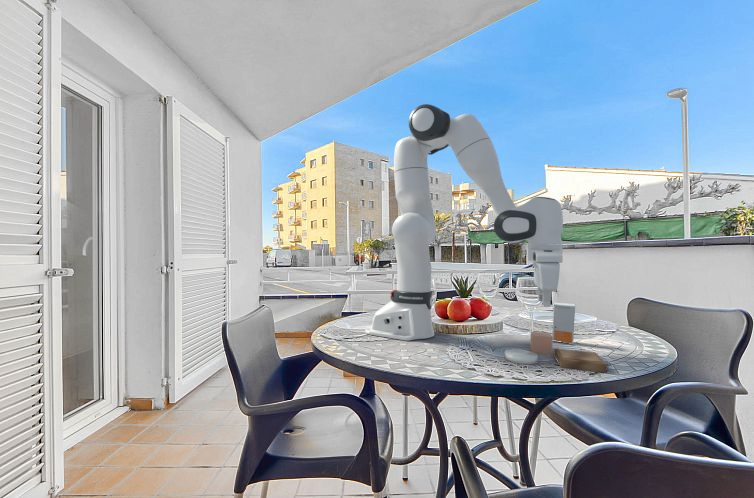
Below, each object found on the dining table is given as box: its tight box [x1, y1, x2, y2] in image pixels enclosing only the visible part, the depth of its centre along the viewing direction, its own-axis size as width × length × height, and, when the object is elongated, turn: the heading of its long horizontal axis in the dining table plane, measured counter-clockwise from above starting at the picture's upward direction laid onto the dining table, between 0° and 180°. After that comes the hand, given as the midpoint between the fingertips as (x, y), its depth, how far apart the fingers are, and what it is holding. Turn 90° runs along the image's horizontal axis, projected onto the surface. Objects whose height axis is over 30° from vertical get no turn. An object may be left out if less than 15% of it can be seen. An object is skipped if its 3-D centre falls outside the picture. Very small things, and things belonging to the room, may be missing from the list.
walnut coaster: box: [553, 348, 608, 373], centre depth 95 cm, size 10×10×2 cm
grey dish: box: [504, 348, 538, 365], centre depth 97 cm, size 8×8×2 cm
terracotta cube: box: [529, 331, 553, 356], centre depth 105 cm, size 5×5×5 cm
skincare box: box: [551, 302, 576, 346], centre depth 116 cm, size 6×4×12 cm
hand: (544, 303), depth 105 cm, fingers open, 8 cm apart
